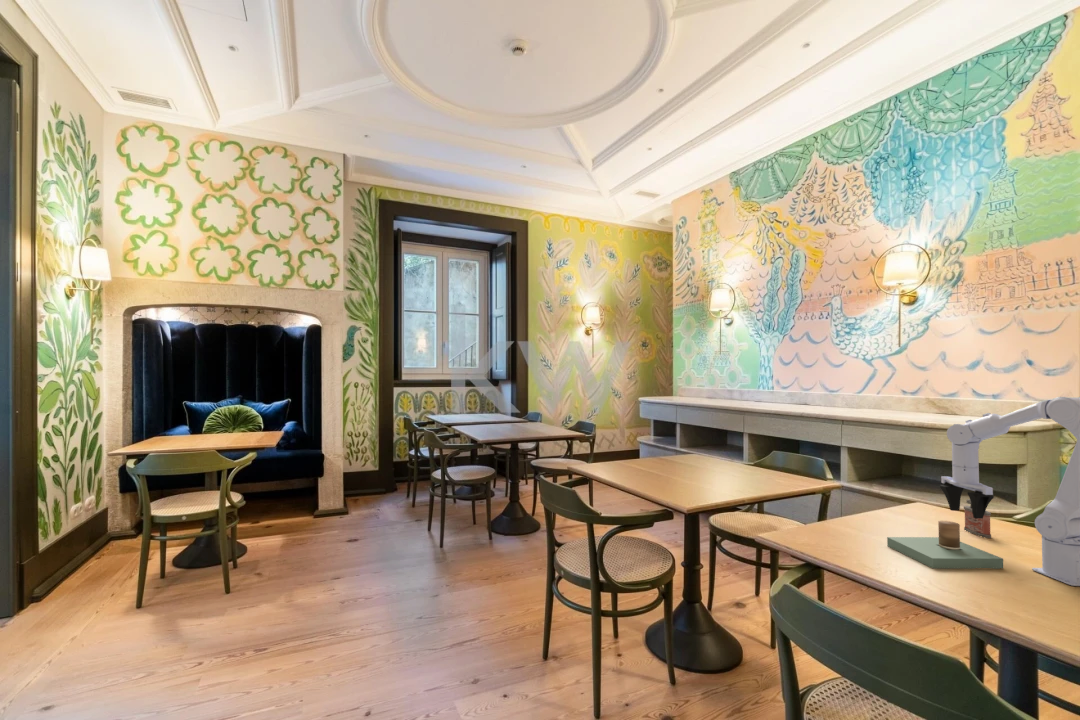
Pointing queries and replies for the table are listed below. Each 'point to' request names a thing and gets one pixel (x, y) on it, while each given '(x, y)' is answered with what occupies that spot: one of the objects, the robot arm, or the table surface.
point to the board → (944, 553)
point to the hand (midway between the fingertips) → (966, 514)
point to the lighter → (977, 522)
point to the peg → (949, 535)
